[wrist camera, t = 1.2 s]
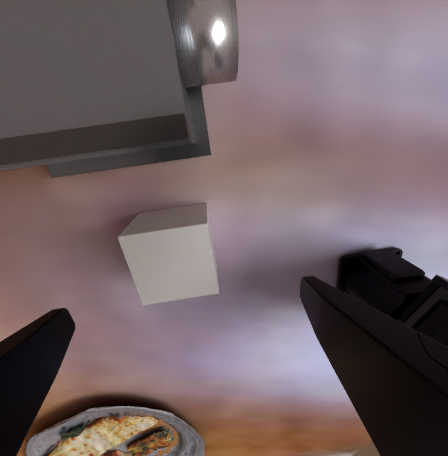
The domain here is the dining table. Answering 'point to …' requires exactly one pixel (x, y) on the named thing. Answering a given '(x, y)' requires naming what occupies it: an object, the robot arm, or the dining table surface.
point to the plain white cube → (171, 254)
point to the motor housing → (109, 80)
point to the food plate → (115, 434)
